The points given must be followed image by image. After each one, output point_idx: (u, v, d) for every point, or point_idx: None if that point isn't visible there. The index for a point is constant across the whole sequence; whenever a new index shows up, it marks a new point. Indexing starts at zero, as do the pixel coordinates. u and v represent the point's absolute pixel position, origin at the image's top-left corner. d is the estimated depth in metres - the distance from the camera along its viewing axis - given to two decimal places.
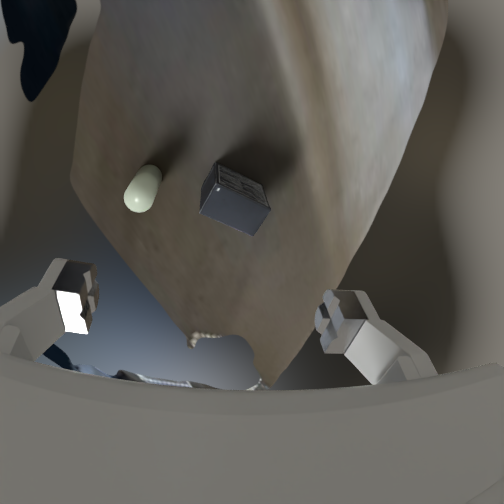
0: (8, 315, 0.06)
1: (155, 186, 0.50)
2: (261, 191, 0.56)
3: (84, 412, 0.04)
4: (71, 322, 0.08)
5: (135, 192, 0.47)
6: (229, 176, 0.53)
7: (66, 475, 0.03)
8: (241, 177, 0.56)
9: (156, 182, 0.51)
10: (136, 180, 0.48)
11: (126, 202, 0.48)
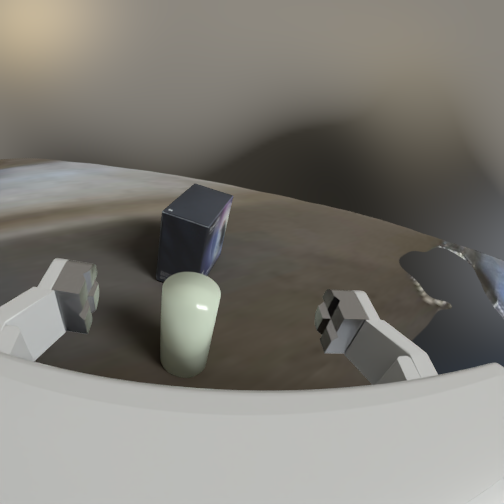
0: (8, 315, 0.06)
1: None
2: None
3: (84, 412, 0.04)
4: (71, 322, 0.08)
5: (178, 293, 0.25)
6: None
7: (66, 475, 0.03)
8: None
9: None
10: (162, 310, 0.26)
11: (201, 309, 0.24)
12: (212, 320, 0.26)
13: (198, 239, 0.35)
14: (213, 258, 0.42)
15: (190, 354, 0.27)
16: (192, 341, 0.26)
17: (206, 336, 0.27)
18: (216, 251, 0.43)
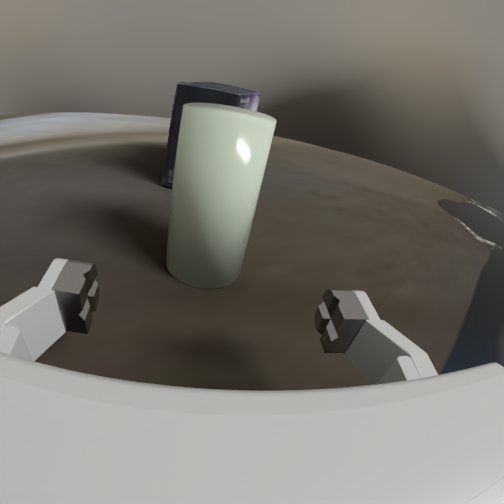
0: (8, 315, 0.06)
1: None
2: None
3: (84, 412, 0.04)
4: (71, 322, 0.08)
5: (210, 109, 0.15)
6: None
7: (66, 476, 0.03)
8: None
9: None
10: (179, 143, 0.15)
11: (251, 120, 0.14)
12: (264, 157, 0.16)
13: None
14: None
15: (222, 229, 0.16)
16: (228, 193, 0.15)
17: (252, 192, 0.16)
18: None
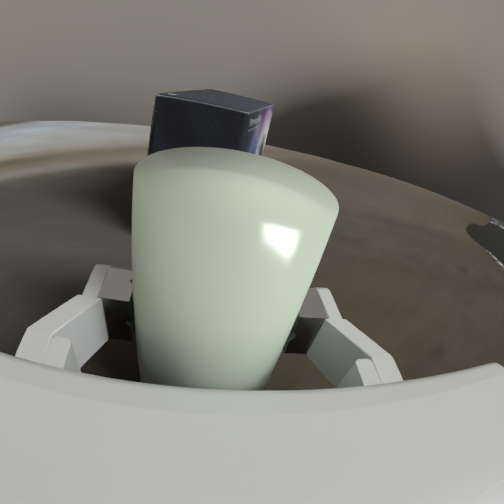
0: (54, 326, 0.06)
1: None
2: None
3: (84, 412, 0.04)
4: (116, 329, 0.09)
5: (194, 179, 0.07)
6: None
7: (66, 475, 0.03)
8: None
9: None
10: (133, 254, 0.07)
11: (294, 222, 0.06)
12: (310, 283, 0.08)
13: (226, 141, 0.17)
14: None
15: None
16: (238, 360, 0.07)
17: (282, 342, 0.08)
18: None
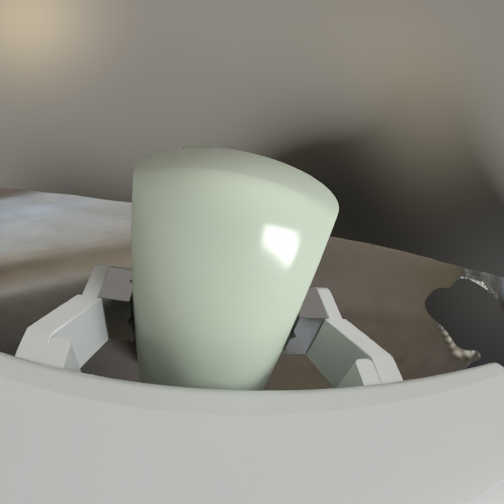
0: (54, 325, 0.06)
1: None
2: None
3: (84, 412, 0.04)
4: (116, 329, 0.09)
5: (194, 179, 0.07)
6: None
7: (66, 475, 0.03)
8: None
9: None
10: (133, 254, 0.07)
11: (294, 222, 0.06)
12: (310, 283, 0.08)
13: None
14: None
15: None
16: (237, 360, 0.07)
17: (282, 342, 0.08)
18: None
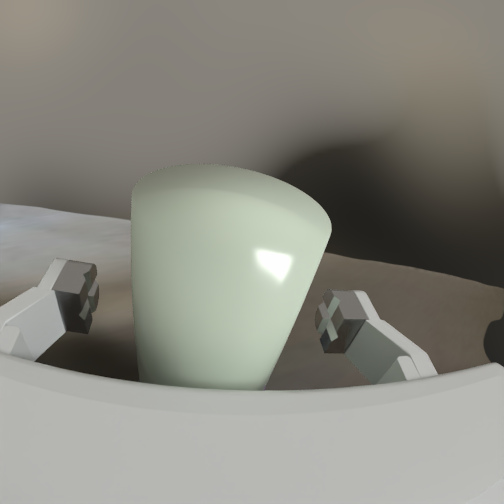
0: (8, 315, 0.06)
1: None
2: None
3: (84, 412, 0.04)
4: (71, 322, 0.08)
5: (191, 202, 0.07)
6: None
7: (66, 475, 0.03)
8: None
9: None
10: (132, 273, 0.07)
11: (286, 248, 0.06)
12: (303, 300, 0.08)
13: None
14: None
15: None
16: (234, 373, 0.08)
17: (276, 355, 0.09)
18: None
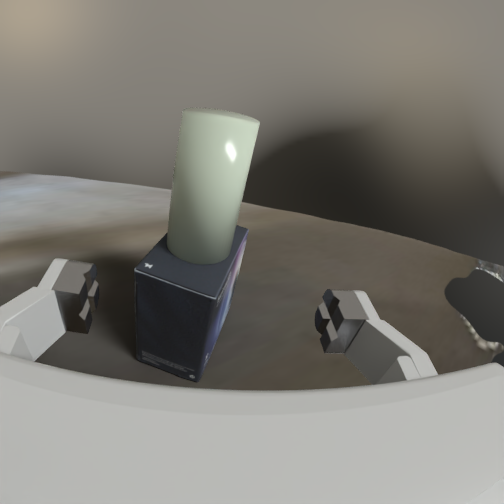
0: (8, 315, 0.06)
1: None
2: None
3: (84, 412, 0.04)
4: (71, 322, 0.08)
5: (205, 114, 0.18)
6: None
7: (67, 475, 0.03)
8: None
9: None
10: (179, 142, 0.18)
11: (237, 123, 0.17)
12: (248, 153, 0.19)
13: (198, 315, 0.21)
14: (221, 326, 0.27)
15: (213, 212, 0.20)
16: (219, 182, 0.19)
17: (239, 182, 0.20)
18: (225, 315, 0.28)
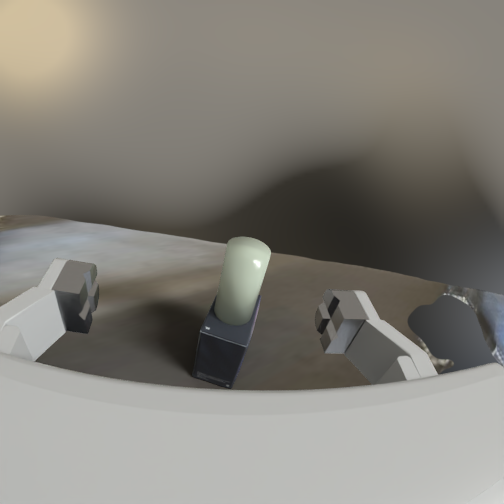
0: (8, 315, 0.06)
1: None
2: None
3: (84, 412, 0.04)
4: (71, 322, 0.08)
5: (240, 250, 0.35)
6: None
7: (66, 475, 0.03)
8: None
9: None
10: (226, 265, 0.35)
11: (259, 260, 0.34)
12: (264, 271, 0.35)
13: (235, 354, 0.37)
14: None
15: (245, 301, 0.36)
16: (248, 288, 0.35)
17: (258, 286, 0.36)
18: None
